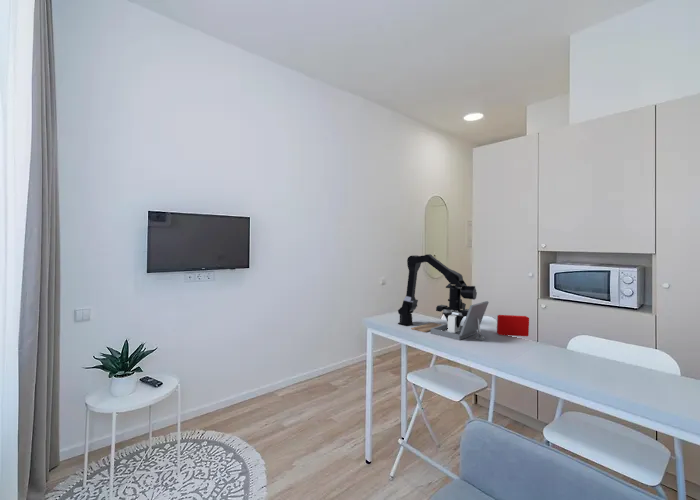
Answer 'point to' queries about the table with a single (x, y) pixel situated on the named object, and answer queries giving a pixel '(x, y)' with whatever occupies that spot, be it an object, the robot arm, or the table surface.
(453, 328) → the block
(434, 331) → the case
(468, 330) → the case lid
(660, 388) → the table surface
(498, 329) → the red flat block
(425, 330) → the walnut board
